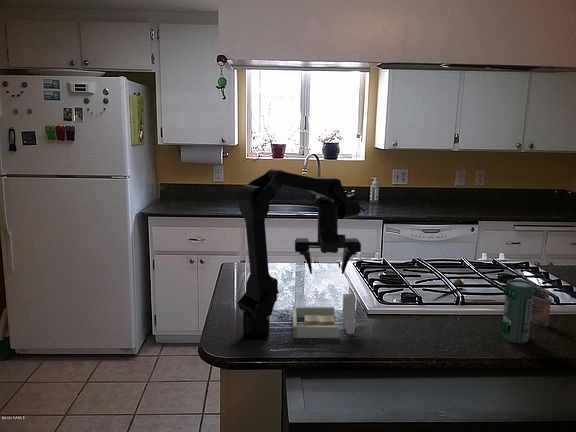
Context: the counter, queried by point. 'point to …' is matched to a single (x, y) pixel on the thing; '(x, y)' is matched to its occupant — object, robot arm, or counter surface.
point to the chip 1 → (311, 320)
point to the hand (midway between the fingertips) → (326, 273)
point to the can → (517, 310)
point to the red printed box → (540, 307)
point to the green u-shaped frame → (314, 330)
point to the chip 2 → (327, 321)
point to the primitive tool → (456, 283)
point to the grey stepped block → (349, 312)
